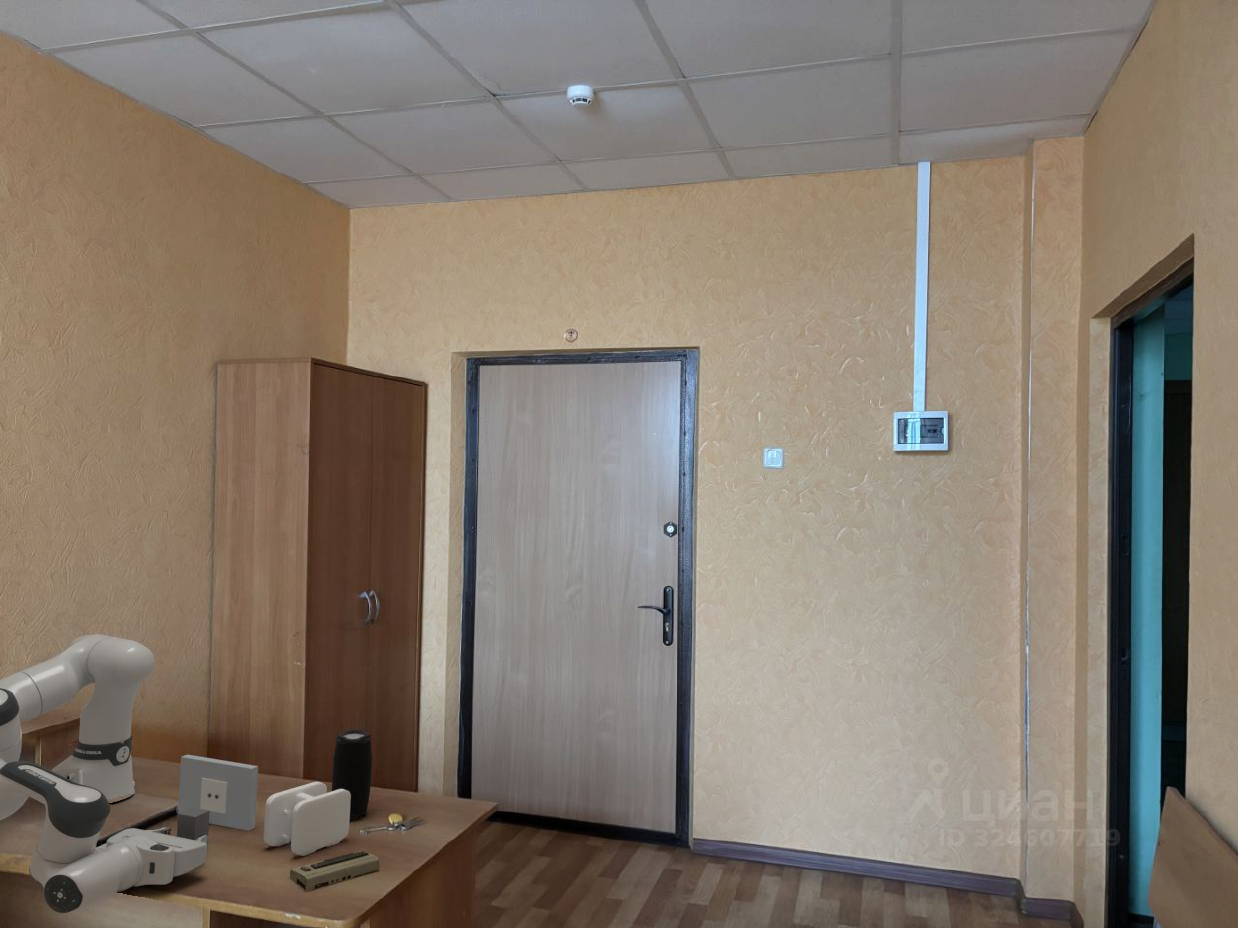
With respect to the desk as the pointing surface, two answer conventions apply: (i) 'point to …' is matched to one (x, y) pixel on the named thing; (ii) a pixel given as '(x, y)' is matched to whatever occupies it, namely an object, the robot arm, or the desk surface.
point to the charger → (193, 823)
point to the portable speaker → (353, 769)
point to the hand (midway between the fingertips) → (186, 834)
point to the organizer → (307, 818)
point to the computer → (335, 869)
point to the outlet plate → (219, 790)
